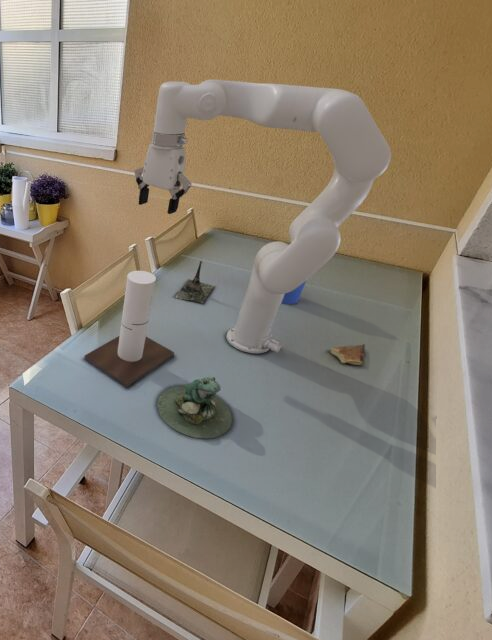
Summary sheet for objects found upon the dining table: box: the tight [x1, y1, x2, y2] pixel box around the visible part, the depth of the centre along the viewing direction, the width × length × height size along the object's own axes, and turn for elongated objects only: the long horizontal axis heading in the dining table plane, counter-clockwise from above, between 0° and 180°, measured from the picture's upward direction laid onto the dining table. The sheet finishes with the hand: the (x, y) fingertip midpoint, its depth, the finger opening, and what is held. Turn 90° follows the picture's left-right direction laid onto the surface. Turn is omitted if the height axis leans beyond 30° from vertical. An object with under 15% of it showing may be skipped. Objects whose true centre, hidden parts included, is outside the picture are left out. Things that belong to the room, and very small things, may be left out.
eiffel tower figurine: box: [174, 258, 215, 304], centre depth 149 cm, size 15×10×13 cm
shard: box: [330, 344, 366, 366], centre depth 121 cm, size 11×8×2 cm
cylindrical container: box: [118, 270, 157, 362], centre depth 114 cm, size 7×7×25 cm
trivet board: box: [84, 335, 175, 389], centre depth 122 cm, size 16×21×2 cm
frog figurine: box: [157, 375, 233, 440], centre depth 101 cm, size 18×18×12 cm
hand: (156, 208), depth 114 cm, fingers open, 9 cm apart
